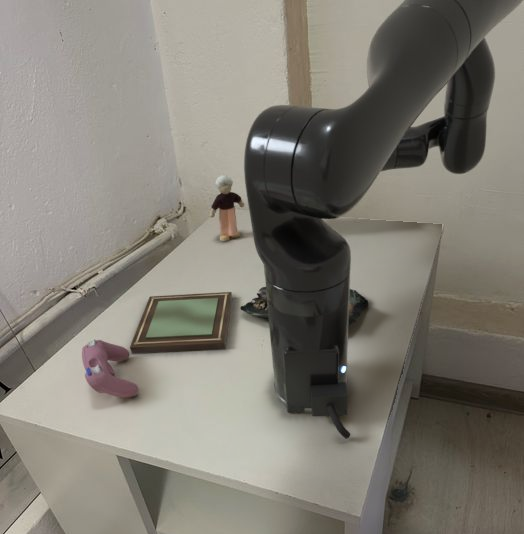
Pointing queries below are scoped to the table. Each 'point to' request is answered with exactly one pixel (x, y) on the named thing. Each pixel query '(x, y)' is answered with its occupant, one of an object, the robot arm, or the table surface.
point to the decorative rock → (261, 309)
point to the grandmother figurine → (226, 208)
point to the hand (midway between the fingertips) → (280, 158)
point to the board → (183, 323)
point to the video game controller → (106, 369)
